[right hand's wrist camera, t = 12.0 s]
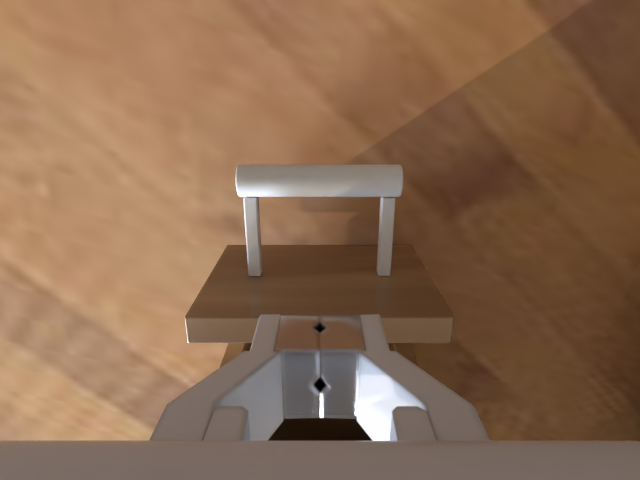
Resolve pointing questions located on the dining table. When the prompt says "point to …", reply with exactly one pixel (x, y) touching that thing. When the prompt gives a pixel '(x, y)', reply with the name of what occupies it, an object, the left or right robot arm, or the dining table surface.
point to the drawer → (319, 278)
